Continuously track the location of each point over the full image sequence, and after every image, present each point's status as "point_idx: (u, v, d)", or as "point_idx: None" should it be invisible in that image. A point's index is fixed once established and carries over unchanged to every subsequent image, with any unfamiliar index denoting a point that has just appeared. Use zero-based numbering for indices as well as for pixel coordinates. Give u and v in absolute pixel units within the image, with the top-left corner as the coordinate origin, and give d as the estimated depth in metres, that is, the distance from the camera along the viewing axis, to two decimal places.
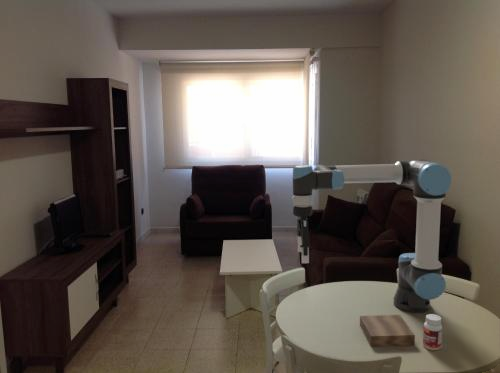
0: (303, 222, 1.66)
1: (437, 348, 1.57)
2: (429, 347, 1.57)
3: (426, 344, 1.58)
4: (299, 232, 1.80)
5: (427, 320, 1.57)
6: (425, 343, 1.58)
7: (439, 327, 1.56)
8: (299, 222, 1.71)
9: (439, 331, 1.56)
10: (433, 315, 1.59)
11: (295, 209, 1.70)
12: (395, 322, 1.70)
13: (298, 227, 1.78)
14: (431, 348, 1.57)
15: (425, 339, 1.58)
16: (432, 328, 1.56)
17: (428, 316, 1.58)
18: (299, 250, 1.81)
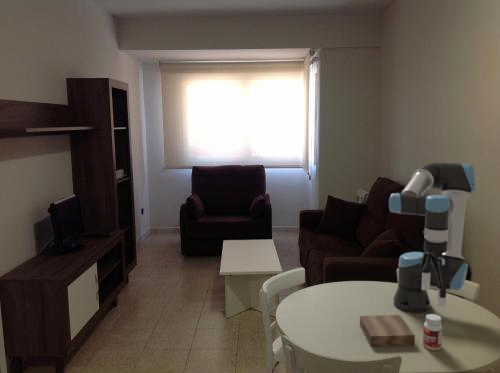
0: (441, 260, 1.47)
1: (437, 348, 1.57)
2: (429, 347, 1.57)
3: (426, 344, 1.58)
4: (425, 268, 1.61)
5: (427, 320, 1.57)
6: (425, 343, 1.58)
7: (439, 327, 1.56)
8: (432, 259, 1.52)
9: (439, 331, 1.56)
10: (433, 315, 1.59)
11: (429, 245, 1.51)
12: (395, 322, 1.70)
13: (425, 263, 1.59)
14: (431, 348, 1.57)
15: (425, 339, 1.58)
16: (432, 328, 1.56)
17: (428, 316, 1.58)
18: (424, 288, 1.63)
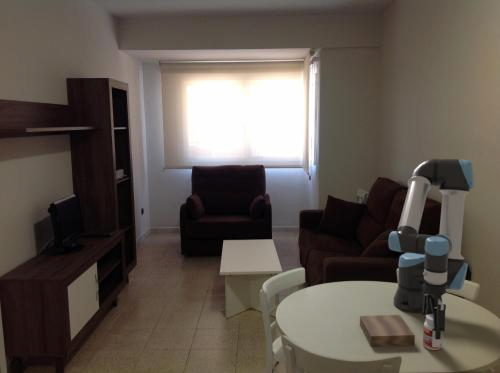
0: (440, 307, 1.50)
1: (437, 348, 1.57)
2: (429, 347, 1.57)
3: (426, 344, 1.58)
4: (427, 313, 1.61)
5: (427, 320, 1.57)
6: (425, 343, 1.58)
7: None
8: (432, 301, 1.55)
9: None
10: None
11: (428, 286, 1.53)
12: (395, 322, 1.70)
13: (427, 307, 1.60)
14: (431, 348, 1.57)
15: (425, 339, 1.58)
16: (432, 328, 1.56)
17: (428, 316, 1.58)
18: None
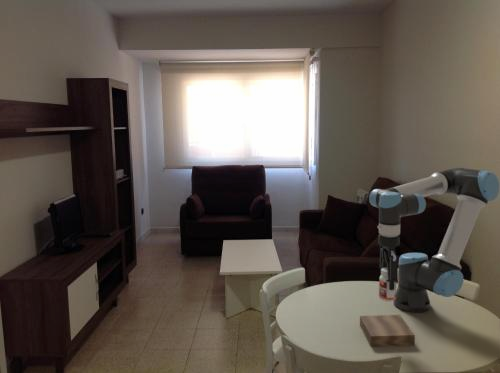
0: (393, 257, 1.56)
1: (391, 299, 1.63)
2: (384, 298, 1.63)
3: (381, 296, 1.64)
4: (383, 267, 1.67)
5: (382, 272, 1.63)
6: (380, 295, 1.65)
7: None
8: (386, 253, 1.61)
9: None
10: None
11: (382, 239, 1.60)
12: (395, 322, 1.70)
13: (382, 260, 1.66)
14: (386, 299, 1.63)
15: (380, 291, 1.64)
16: None
17: (383, 269, 1.65)
18: None
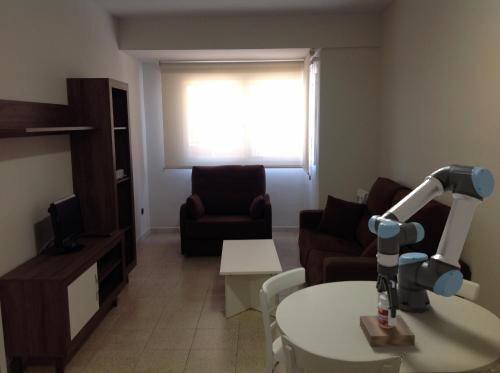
0: (391, 283, 1.58)
1: (390, 326, 1.65)
2: (382, 325, 1.65)
3: (380, 323, 1.66)
4: (380, 289, 1.72)
5: (380, 300, 1.65)
6: (379, 322, 1.67)
7: None
8: (384, 281, 1.63)
9: None
10: None
11: (381, 268, 1.62)
12: None
13: (380, 284, 1.70)
14: (384, 326, 1.65)
15: (379, 318, 1.66)
16: (385, 307, 1.64)
17: (382, 296, 1.67)
18: None
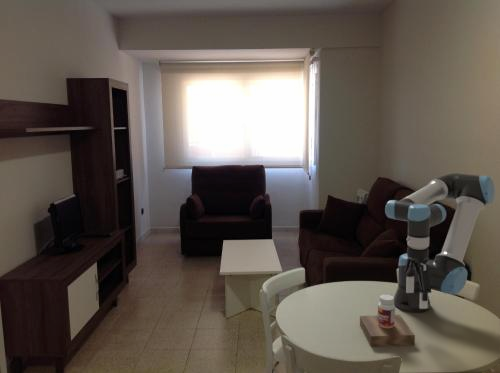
0: (423, 266, 1.57)
1: (390, 326, 1.65)
2: (382, 325, 1.65)
3: (380, 323, 1.66)
4: (409, 273, 1.71)
5: (380, 300, 1.65)
6: (379, 322, 1.67)
7: (391, 306, 1.64)
8: (415, 265, 1.62)
9: (392, 310, 1.64)
10: (387, 295, 1.67)
11: (411, 251, 1.61)
12: (395, 322, 1.70)
13: (409, 268, 1.69)
14: (384, 326, 1.65)
15: (379, 318, 1.66)
16: (385, 307, 1.64)
17: (382, 296, 1.67)
18: (408, 291, 1.73)
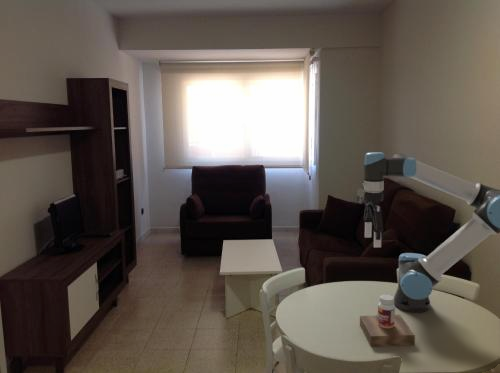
0: (376, 207, 1.70)
1: (390, 326, 1.65)
2: (382, 325, 1.65)
3: (380, 323, 1.66)
4: (367, 218, 1.84)
5: (380, 300, 1.65)
6: (379, 322, 1.67)
7: (391, 306, 1.64)
8: (370, 207, 1.75)
9: (392, 310, 1.64)
10: (387, 295, 1.67)
11: (367, 195, 1.74)
12: (395, 322, 1.70)
13: (367, 213, 1.83)
14: (384, 326, 1.65)
15: (379, 318, 1.66)
16: (385, 307, 1.64)
17: (382, 296, 1.67)
18: (366, 236, 1.86)
